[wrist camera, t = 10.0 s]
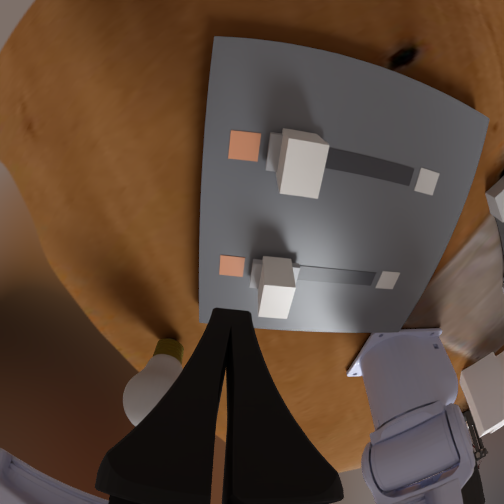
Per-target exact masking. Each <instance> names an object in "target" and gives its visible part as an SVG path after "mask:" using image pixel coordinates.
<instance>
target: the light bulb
mask: <svg viewBox="0 0 504 504" xmlns="http://www.w3.org/2000/svg"><path fill="white" fill-rule="evenodd" d="M183 351H184V348H183V346H182V345H181V344H180V343H179V342H178V341H176V340H175V339H172V338H168V339H161V340H159V341H158V343H157V346H156V349H155V352H154V354H153V357H152V358H151V359H150V360H149V362H148V363H147V365H146V367H145V368H144V369H143V370H142V371H141V372H139V373H138V374H137V375H135V376H134V377H133V378H132V379H131V380H130V381H129V382H128V384H127V386H126V388H125V390H124V394H123V405H124V409H125V412H126V415H127V417H128V418H129V420H130V421H131V422H132V423H133V424H134V425H135V426H137V425H138V424H139V423H140V422H141V421H142V420H143V419H144V418H145V417H146V416H147V415H148V414H149V412H150V411H151V410H152V409H153V408H154V407H155V406H156V404H157V403H158V402H159V401H160V400H161V398H162V397H163V396H164V395H165V394H166V392H167V391H168V390H169V388H170V387H171V386H172V384H173V383H174V382H175V380H176V379H177V377H178V376H179V375H180V373H181V372H182V370H183V369H182V366H181V365H182V357H183Z"/></svg>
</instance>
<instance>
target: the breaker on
mask: <svg viewBox="0 0 504 504" xmlns="http://www.w3.org/2000/svg"><path fill="white" fill-rule="evenodd" d="M299 271H300V265H299V263H292V261H291V259H288V258H279V257H269V256H263V260H260V259H253V263H252V270H251V277H250V287H249V288H258V317H267V318H280V319H287V317H288V314H289V310H290V307H291V303H292V300H293V296H294V293H295V289H296V282H297V278H298V274H299Z"/></svg>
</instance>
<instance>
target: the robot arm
mask: <svg viewBox="0 0 504 504" xmlns="http://www.w3.org/2000/svg"><path fill="white" fill-rule="evenodd" d="M441 333H442V330H441V328H431V329H401V330H400V331H399V332H391V333H371V335H370V336H369V338H368V340H367V341H366V343H365V345H364V346H363V348H362V349H361V351H360V353H359V354H358V356H357V357H356V359H355V360H354V362H353V363H352V365H351V367H350V368H349V370H348V371H347V376H349V377H350V376H363V380H364V384H365V388H366V392H367V396H368V401H369V405H370V409H371V414H372V418H373V423H374V427H375V432H373V433H371V434H370V439H371V442H369V443H368V444H367V445H366V447H365V449H364V452H363V454H362V459H361V467H362V473H363V477H364V480H365V482H366V484H367V486H368V487H369V488H370V490H371V492H372V494H373V497H374V499H375V503H376V504H463V499H462V493H461V489H462V487H463V486H464V485H465V484H466V482H467V481H468V480H469V478H470V477H471V476H472V474H473V472H474V467H475V457H474V454H473V446H472V442H471V438H470V435H469V431H468V428H467V425H466V422H465V420H464V417H463V414H462V412H461V410H460V408H459V406H458V405H455V404H453V403H454V401H455V399H456V397H457V393H458V380H457V376H456V373H455V371H454V368H453V366H452V364H451V362H450V359H449V357H448V355H447V353H446V351H445V349H444V347H443V344H442V342H441V340H440V338H439V336H440V334H441ZM225 370H226V383H227V435H226V450H225V465H224V479H223V494H222V504H329V503H334V502H337V501H341V500H342V499H343V498H344V495H343V487H342V484H341V480H340V477H339V475H338V472H337V471H336V470H335V469H334V468H333V467H332V466H331V465H330V464H329V463H328V462H327V460H326V459H325V458H324V457H323V456H322V455H321V454H320V453H319V451H318V450H317V449H316V448H315V446H314V445H313V444H312V443H311V441H310V440H309V439H308V438H307V436H306V435H305V433H304V432H303V431H302V429H301V428H300V426H299V425H298V423H297V422H296V421H295V419H294V418H293V416H292V414H291V413H290V411H289V409H288V408H287V406H286V405H285V403H284V401H283V399H282V397H281V396H280V394H279V392H278V390H277V388H276V386H275V384H274V382H273V379H272V377H271V375H270V373H269V371H268V368H267V366H266V363H265V361H264V358H263V355H262V353H261V350H260V347H259V344H258V341H257V338H256V334H255V330H254V326H253V322H252V315H251V313H250V312H249V311H244V310H235V309H226V308H217V307H216V308H214V309H213V310H212V314H211V317H210V320H209V322H208V325H207V327H206V329H205V331H204V333H203V336H202V338H201V339H200V341H199V343H198V345H197V347H196V349H195V351H194V352H193V354H192V356H191V357H190V359H189V361H188V362H187V364H186V365H185V367H184V369H183V370H182V372H181V373H180V375H179V376H178V377H177V379H176V380H175V382H174V383H173V384H172V386H171V387H170V388H169V390H168V391H167V392H166V394H165V395H164V396H163V397H162V398H161V400H160V401H159V402H158V403H157V404H156V406H155V407H154V408H153V409H152V410H151V411H150V412H149V414H148V415H147V416H146V417H145V418H144V419H143V420H142V421H141V422H140V423H139V424H138V425H137V426H136V427H135V428H134V429H133V430H132V431H131V432H130V433H129V434H127V435H126V436H125V437H124V438H123V439H122V440H121V441H120V442H118V443H117V444H116V445H115V446H114V447H112V448H111V449H110V450H109V451H108V452H107V453H106V455H105V456H104V458H103V460H102V462H101V464H100V467H99V470H98V473H97V478H96V484H95V488H96V489H97V490H98V491H101V492H104V493H107V494H109V495H110V497H109V501H108V500H105V499H102V498H99V497H96V496H94V495H91V494H88V493H86V492H83V491H81V490H78V489H76V488H74V487H71V486H69V485H66V484H64V483H62V482H60V481H58V480H56V479H54V478H51V477H49V476H47V475H45V474H43V473H42V472H40V471H38V470H36V469H34V468H32V467H31V466H30V465H28V464H26V463H25V462H23V461H21V460H19V459H18V458H16V457H15V456H13V455H11V454H10V453H8V452H7V451H5V450H3V449H1V448H0V504H210V499H211V484H212V469H213V455H214V442H215V430H216V420H217V413H218V408H219V402H220V397H221V392H222V386H223V381H224V375H225ZM454 465H455V466H454ZM452 466H453V467H452ZM450 467H452V468H450ZM448 468H450V469H448ZM446 469H448V470H446ZM444 470H446V471H444ZM442 471H443V472H442ZM440 472H441V473H440ZM437 473H439V474H437ZM435 474H437V475H435ZM433 475H434V476H433ZM430 476H432V477H430ZM428 477H430V478H428ZM425 478H427V479H425ZM423 479H425V480H423ZM421 480H422V481H421ZM418 481H420V482H418ZM415 482H417V483H415ZM413 483H415V484H413ZM410 484H412V485H410ZM407 485H408V486H407Z"/></svg>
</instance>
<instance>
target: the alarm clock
mask: <svg viewBox="0 0 504 504" xmlns="http://www.w3.org/2000/svg"><path fill="white" fill-rule="evenodd" d="M485 194H486V197H487V201H488V205H489V209H490V213H491V214H492V215H493V216H494V217H495V218H496V221H497V225H498V228H499V232H500V237H501V241H502V246H503V253H504V176H503V177H502V178H501V179H500V180H499V181H498V182H497V183H495V184H494V185H493V186H492V187H491V188H490V189H489V190H488V191H487V192H486V193H485ZM503 279H504V278H503ZM502 288H503V293H504V285H503V286H502Z"/></svg>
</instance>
